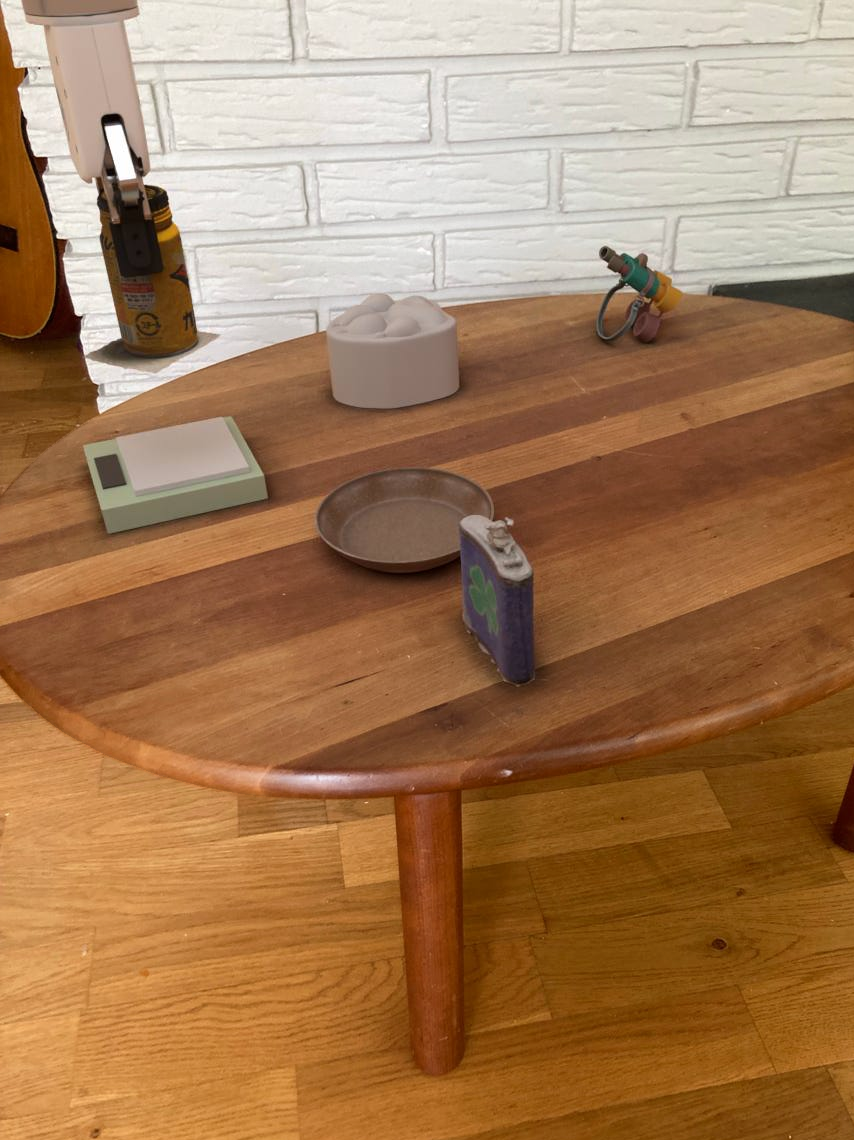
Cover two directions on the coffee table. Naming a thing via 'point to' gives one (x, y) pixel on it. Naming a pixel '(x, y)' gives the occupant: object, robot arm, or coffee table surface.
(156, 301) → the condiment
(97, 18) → the robot arm
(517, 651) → the flask
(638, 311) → the multicolored plastic assembly
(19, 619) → the coffee table surface
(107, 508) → the scale
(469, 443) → the coffee table surface
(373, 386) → the lumpy-topped squat cylinder
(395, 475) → the saucer
